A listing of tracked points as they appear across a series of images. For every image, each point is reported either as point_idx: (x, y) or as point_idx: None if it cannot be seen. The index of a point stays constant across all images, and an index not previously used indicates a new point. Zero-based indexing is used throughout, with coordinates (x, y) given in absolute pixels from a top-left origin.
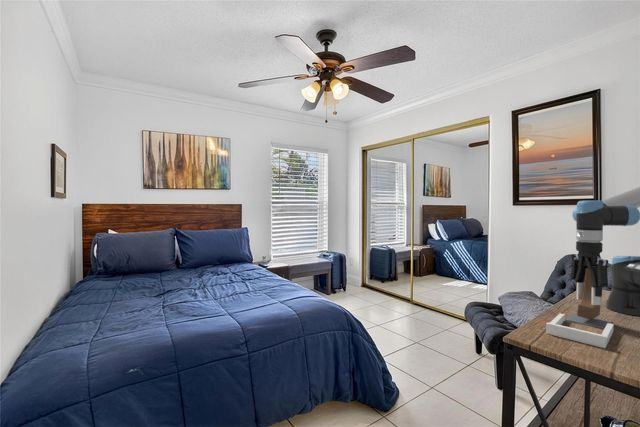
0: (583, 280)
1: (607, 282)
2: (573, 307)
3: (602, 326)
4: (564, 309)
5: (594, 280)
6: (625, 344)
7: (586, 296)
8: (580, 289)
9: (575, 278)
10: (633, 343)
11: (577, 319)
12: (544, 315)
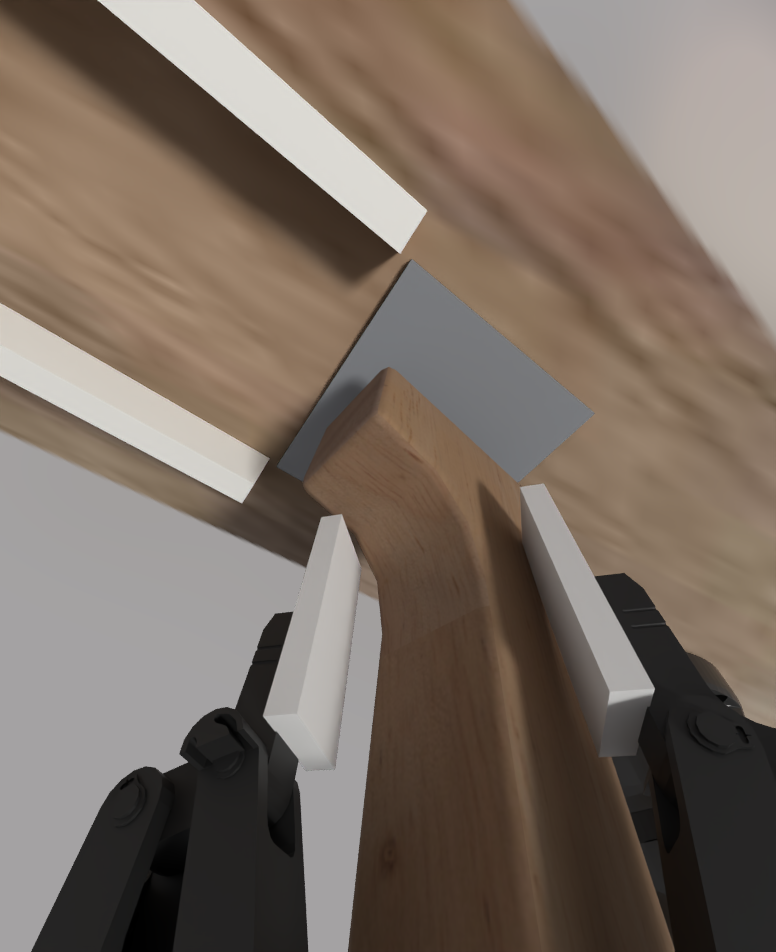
0: (652, 801)
1: (132, 927)
2: (736, 504)
3: (308, 459)
4: (707, 417)
5: (197, 908)
6: (38, 418)
7: (446, 563)
8: (562, 606)
9: (763, 787)
10: (88, 467)
11: (428, 373)
12: (553, 86)
